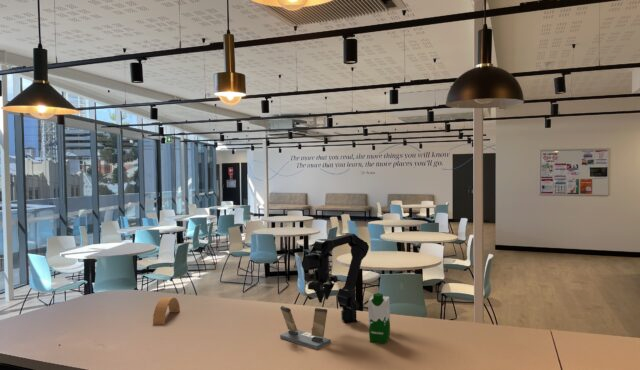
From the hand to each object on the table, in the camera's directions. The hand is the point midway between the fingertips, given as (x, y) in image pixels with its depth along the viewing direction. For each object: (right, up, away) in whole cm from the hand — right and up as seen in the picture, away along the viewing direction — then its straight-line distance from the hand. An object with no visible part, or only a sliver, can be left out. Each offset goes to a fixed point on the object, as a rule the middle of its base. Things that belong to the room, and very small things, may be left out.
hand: (323, 301), depth 204 cm
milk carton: (+24, -13, -14) cm, 31 cm away
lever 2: (-3, -11, -18) cm, 21 cm away
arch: (-79, -14, +21) cm, 83 cm away
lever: (-13, -11, -9) cm, 19 cm away
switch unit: (-8, -14, -13) cm, 21 cm away
